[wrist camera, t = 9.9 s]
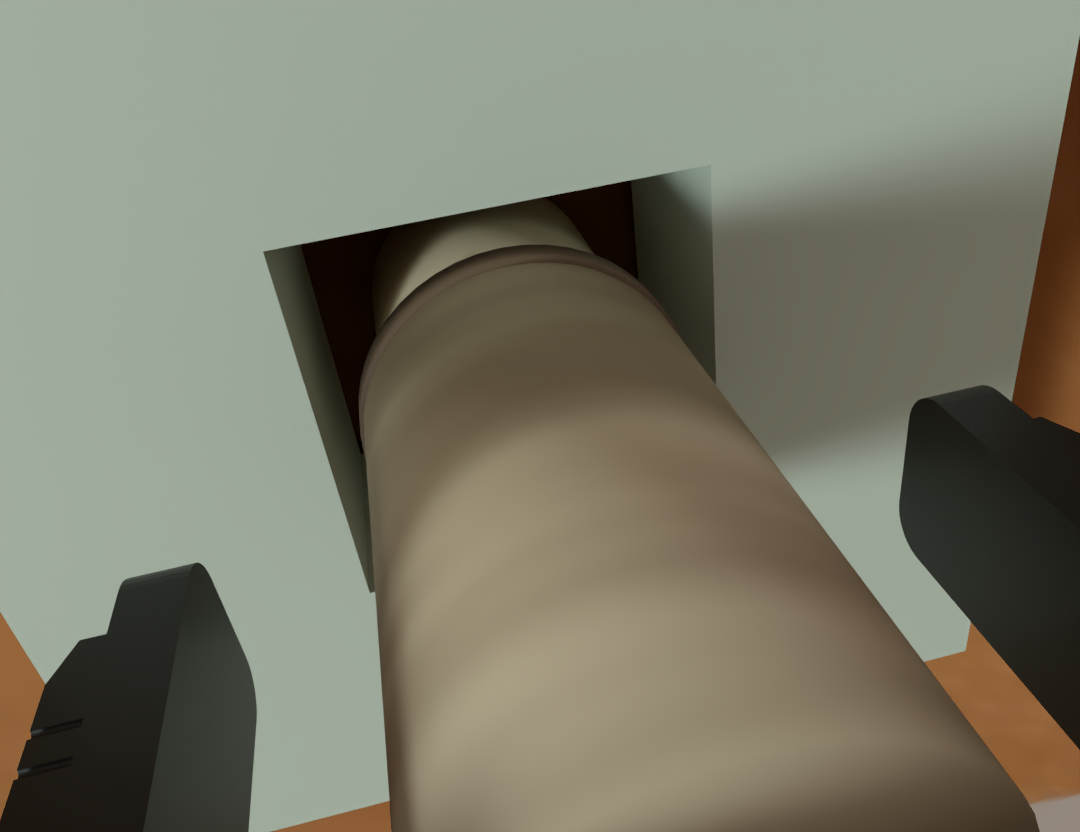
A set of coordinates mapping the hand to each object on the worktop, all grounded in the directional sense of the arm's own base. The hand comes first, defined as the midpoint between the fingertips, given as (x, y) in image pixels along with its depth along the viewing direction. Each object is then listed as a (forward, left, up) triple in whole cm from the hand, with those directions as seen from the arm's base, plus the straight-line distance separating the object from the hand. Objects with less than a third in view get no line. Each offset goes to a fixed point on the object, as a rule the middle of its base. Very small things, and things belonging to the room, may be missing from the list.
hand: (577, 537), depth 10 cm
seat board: (0, 0, -7) cm, 7 cm away
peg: (0, 0, -7) cm, 7 cm away
